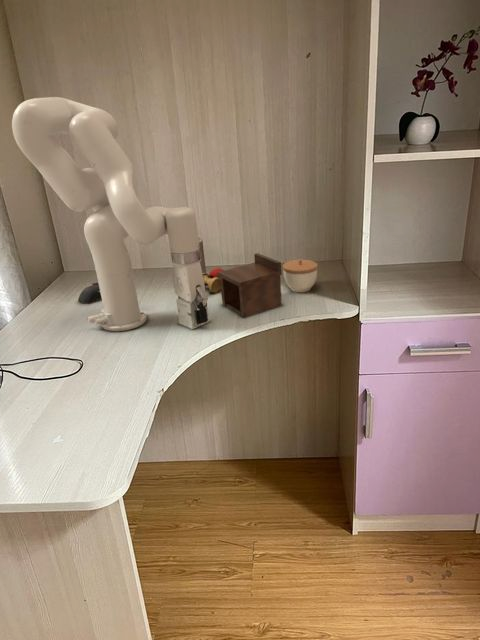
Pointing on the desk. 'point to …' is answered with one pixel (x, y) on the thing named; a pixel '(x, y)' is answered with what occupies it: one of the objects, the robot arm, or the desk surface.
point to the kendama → (212, 280)
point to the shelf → (252, 286)
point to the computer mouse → (90, 294)
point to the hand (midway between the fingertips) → (194, 317)
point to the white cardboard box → (188, 313)
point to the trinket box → (300, 274)
